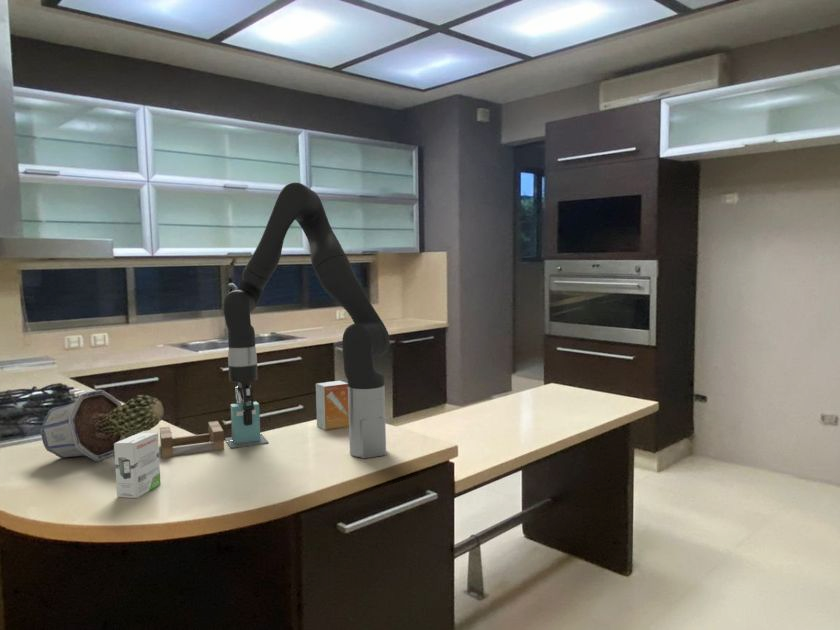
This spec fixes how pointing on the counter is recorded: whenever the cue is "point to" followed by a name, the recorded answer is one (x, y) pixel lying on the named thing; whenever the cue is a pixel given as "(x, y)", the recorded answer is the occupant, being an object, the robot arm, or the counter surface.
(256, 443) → the mat
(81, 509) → the counter surface
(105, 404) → the potted plant
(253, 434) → the teal box
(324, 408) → the small box
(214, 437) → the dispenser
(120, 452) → the ink box
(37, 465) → the counter surface
